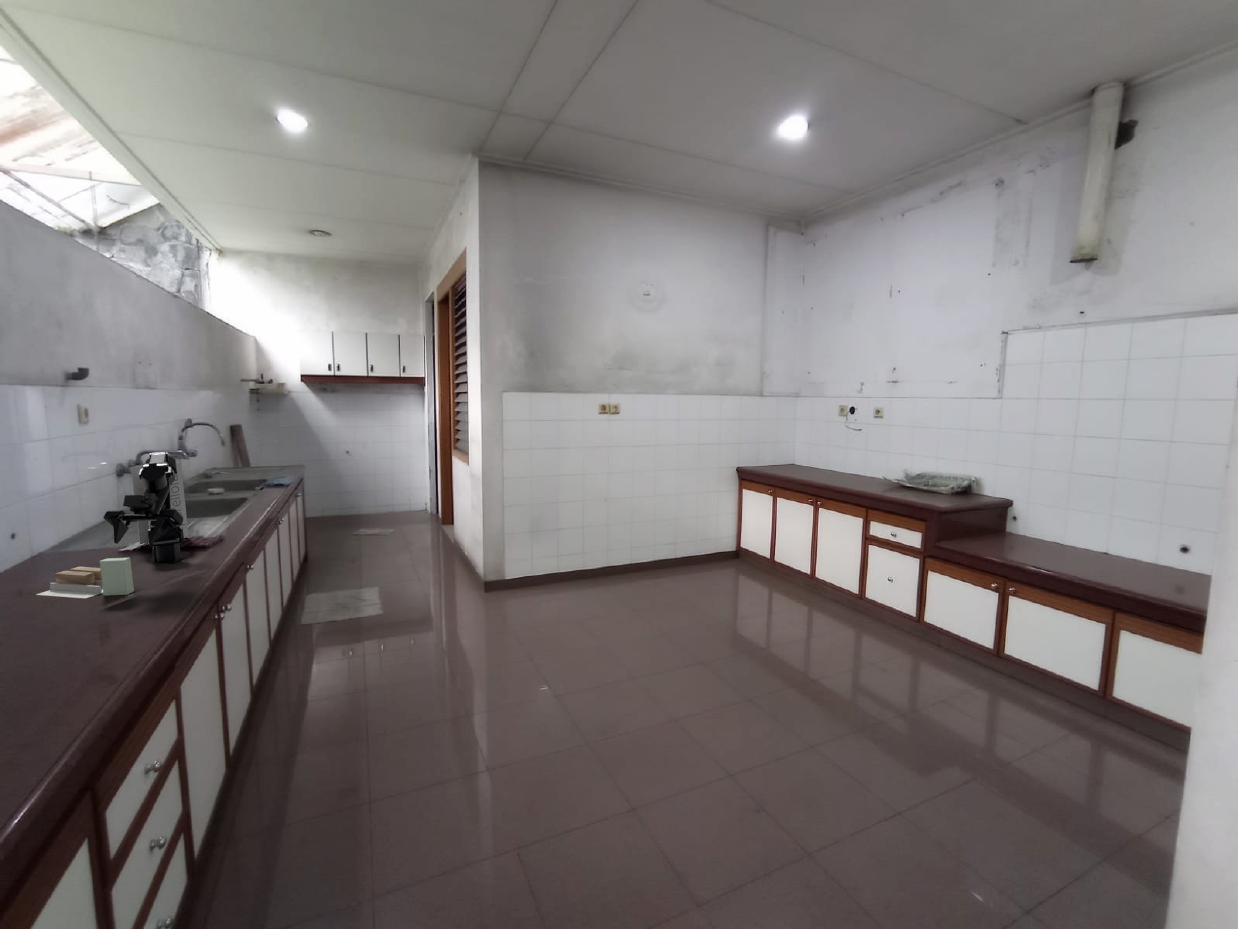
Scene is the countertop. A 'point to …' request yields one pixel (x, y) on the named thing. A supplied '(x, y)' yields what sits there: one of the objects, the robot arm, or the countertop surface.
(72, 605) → the countertop surface
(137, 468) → the white cardboard box
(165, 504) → the robot arm
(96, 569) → the offcut front
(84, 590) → the rack
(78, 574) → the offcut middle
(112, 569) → the sage green block
